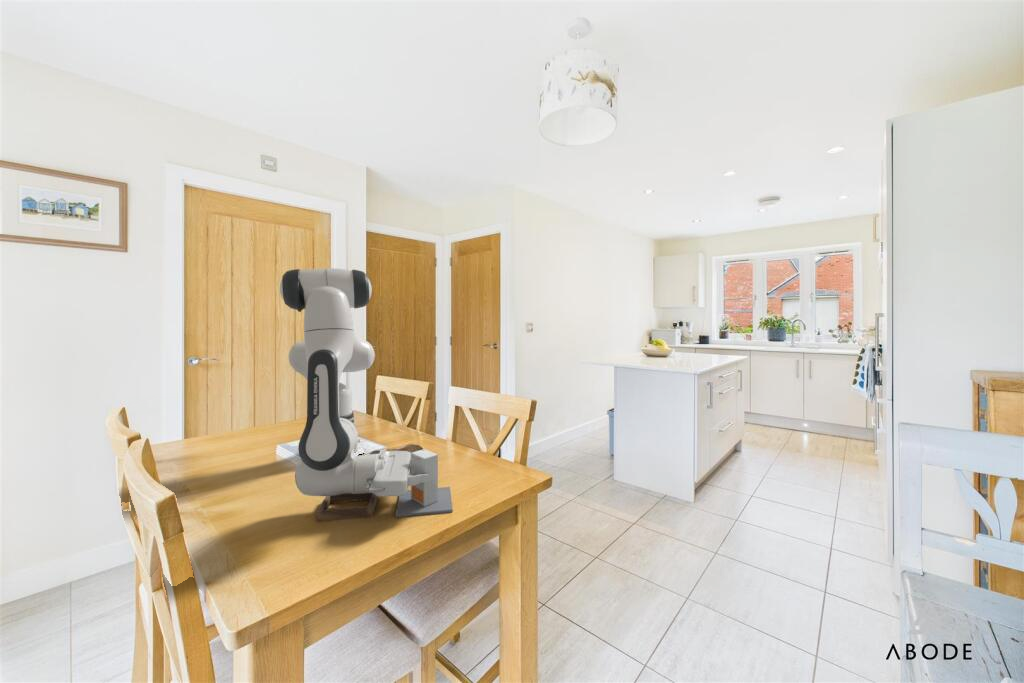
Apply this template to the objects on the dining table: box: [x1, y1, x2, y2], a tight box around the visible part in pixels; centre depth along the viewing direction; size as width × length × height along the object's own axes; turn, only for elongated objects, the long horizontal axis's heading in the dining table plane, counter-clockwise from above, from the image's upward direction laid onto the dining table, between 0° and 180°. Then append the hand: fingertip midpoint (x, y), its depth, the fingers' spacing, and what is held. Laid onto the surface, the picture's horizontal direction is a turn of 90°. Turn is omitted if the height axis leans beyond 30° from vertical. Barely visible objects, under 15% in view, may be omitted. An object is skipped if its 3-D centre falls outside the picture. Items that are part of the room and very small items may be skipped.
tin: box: [387, 443, 424, 475], centre depth 115 cm, size 15×3×8 cm, turn 139°
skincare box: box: [410, 448, 439, 506], centre depth 98 cm, size 6×4×12 cm
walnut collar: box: [315, 493, 379, 522], centre depth 94 cm, size 10×12×2 cm
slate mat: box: [395, 486, 454, 518], centre depth 98 cm, size 13×13×1 cm
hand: (428, 469), depth 98 cm, fingers open, 8 cm apart
